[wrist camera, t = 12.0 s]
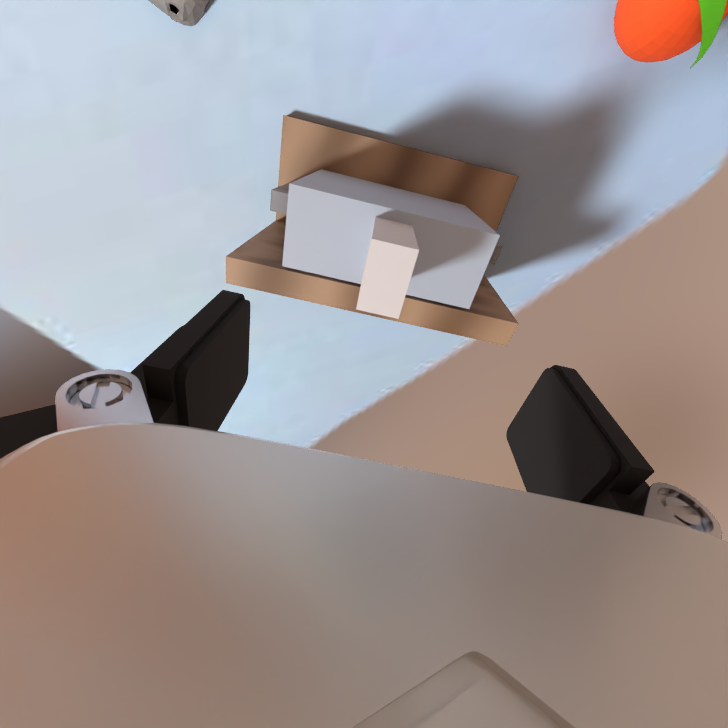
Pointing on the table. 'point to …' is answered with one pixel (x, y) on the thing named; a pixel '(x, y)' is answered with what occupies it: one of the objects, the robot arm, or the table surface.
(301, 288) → the wooden stand
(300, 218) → the white box with handle
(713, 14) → the clementine
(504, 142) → the table surface
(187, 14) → the wall plaque
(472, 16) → the table surface
